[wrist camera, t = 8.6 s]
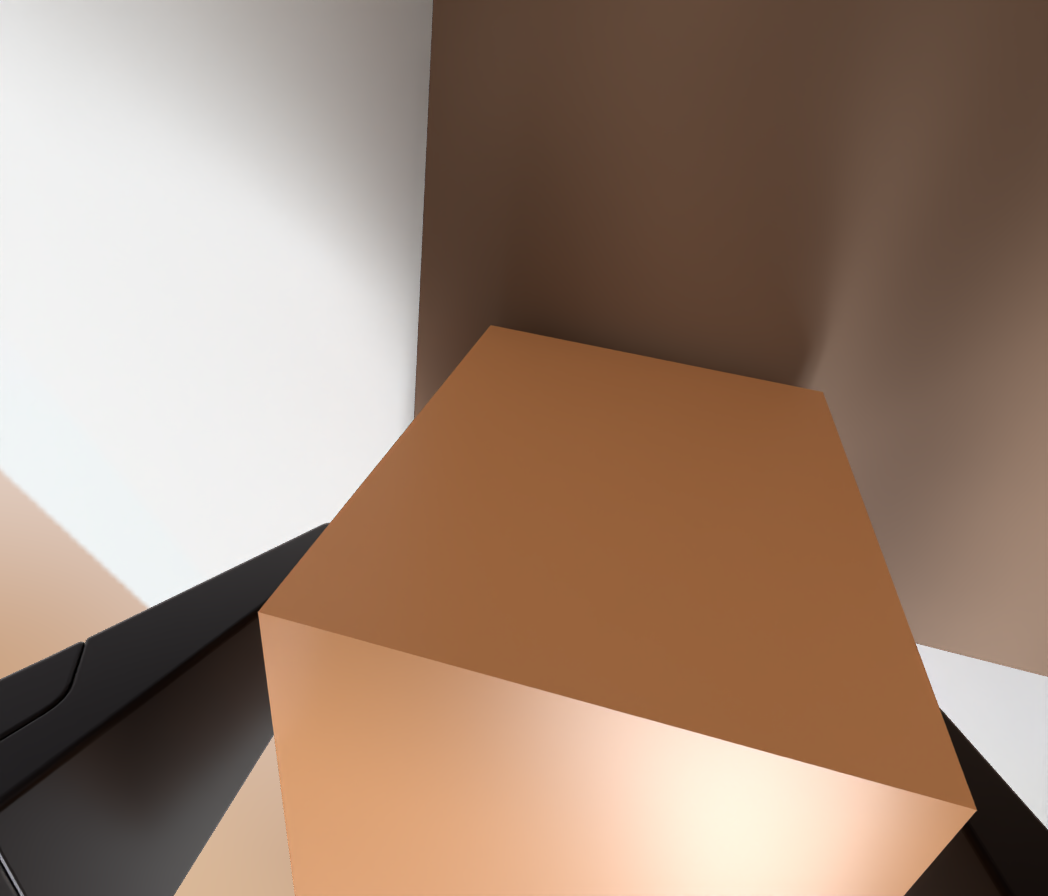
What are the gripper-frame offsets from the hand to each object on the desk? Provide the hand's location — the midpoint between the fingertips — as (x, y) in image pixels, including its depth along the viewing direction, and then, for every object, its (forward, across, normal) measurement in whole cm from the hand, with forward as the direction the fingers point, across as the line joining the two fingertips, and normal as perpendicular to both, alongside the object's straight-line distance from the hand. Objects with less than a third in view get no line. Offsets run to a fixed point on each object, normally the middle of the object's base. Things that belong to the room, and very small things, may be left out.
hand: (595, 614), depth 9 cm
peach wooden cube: (+3, 0, 0) cm, 3 cm away
